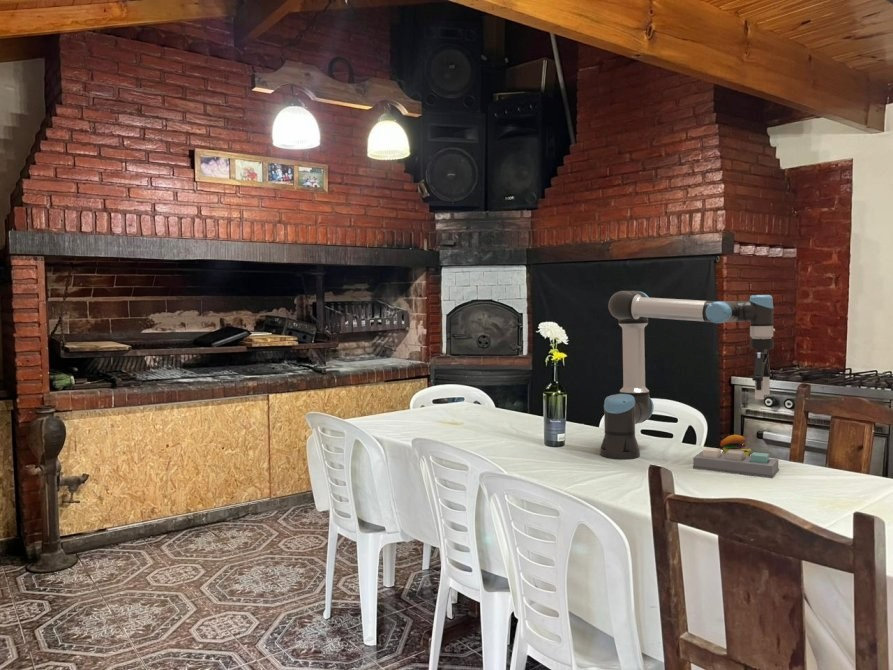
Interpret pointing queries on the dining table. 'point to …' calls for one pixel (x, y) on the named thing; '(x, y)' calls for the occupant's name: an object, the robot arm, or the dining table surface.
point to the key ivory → (711, 452)
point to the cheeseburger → (735, 444)
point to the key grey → (735, 455)
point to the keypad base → (736, 465)
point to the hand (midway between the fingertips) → (762, 396)
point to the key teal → (760, 457)
